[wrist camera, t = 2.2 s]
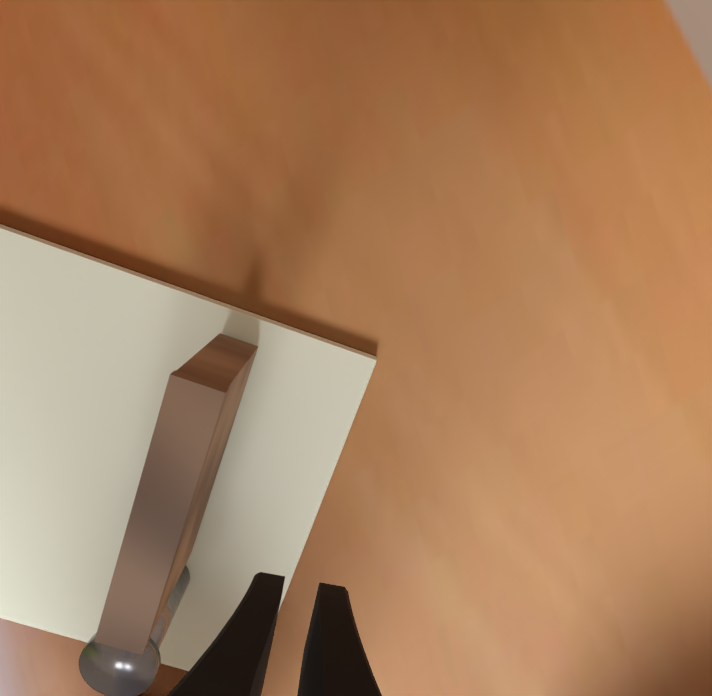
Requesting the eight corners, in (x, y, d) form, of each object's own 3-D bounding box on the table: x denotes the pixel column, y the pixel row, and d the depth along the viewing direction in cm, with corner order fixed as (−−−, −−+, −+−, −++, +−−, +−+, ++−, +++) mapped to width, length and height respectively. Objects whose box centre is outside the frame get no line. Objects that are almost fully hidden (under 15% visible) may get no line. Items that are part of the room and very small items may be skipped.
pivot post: (191, 598, 24) (145, 706, 19) (135, 581, 24) (71, 685, 19) (207, 551, 23) (164, 649, 18) (149, 533, 23) (87, 627, 18)
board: (251, 677, 25) (248, 688, 25) (-177, 555, 24) (-191, 564, 23) (376, 356, 21) (377, 360, 20) (-136, 176, 19) (-151, 175, 19)
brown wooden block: (192, 553, 22) (142, 655, 17) (155, 542, 22) (94, 641, 17) (259, 346, 20) (225, 392, 15) (218, 332, 20) (169, 373, 15)
